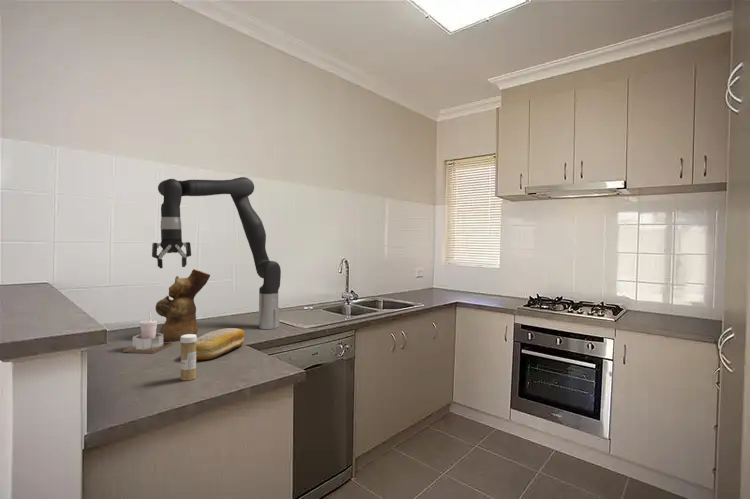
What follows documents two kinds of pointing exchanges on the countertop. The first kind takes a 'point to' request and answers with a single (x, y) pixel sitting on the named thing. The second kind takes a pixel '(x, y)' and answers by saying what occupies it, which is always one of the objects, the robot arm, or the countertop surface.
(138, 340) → the duct collar
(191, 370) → the sprinkles bottle
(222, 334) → the bread
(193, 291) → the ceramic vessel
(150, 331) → the smoothie
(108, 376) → the countertop surface
